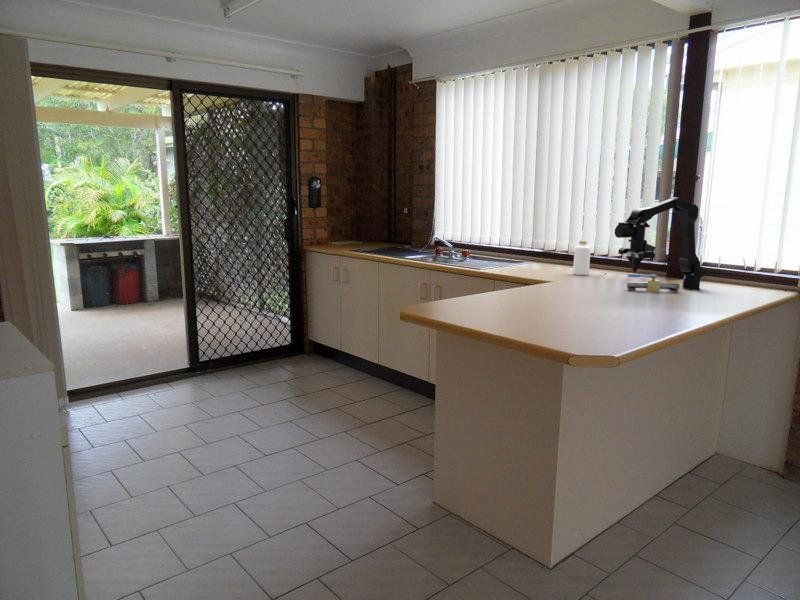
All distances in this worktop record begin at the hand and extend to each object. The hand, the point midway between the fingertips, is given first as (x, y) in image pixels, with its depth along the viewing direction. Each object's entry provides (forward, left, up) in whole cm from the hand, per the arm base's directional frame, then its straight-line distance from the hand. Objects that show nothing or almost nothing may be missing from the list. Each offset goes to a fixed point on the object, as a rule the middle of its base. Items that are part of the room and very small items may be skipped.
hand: (634, 271), depth 258 cm
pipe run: (-9, -3, -9) cm, 13 cm away
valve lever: (-4, -3, -3) cm, 6 cm away
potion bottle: (+20, -47, -9) cm, 52 cm away
